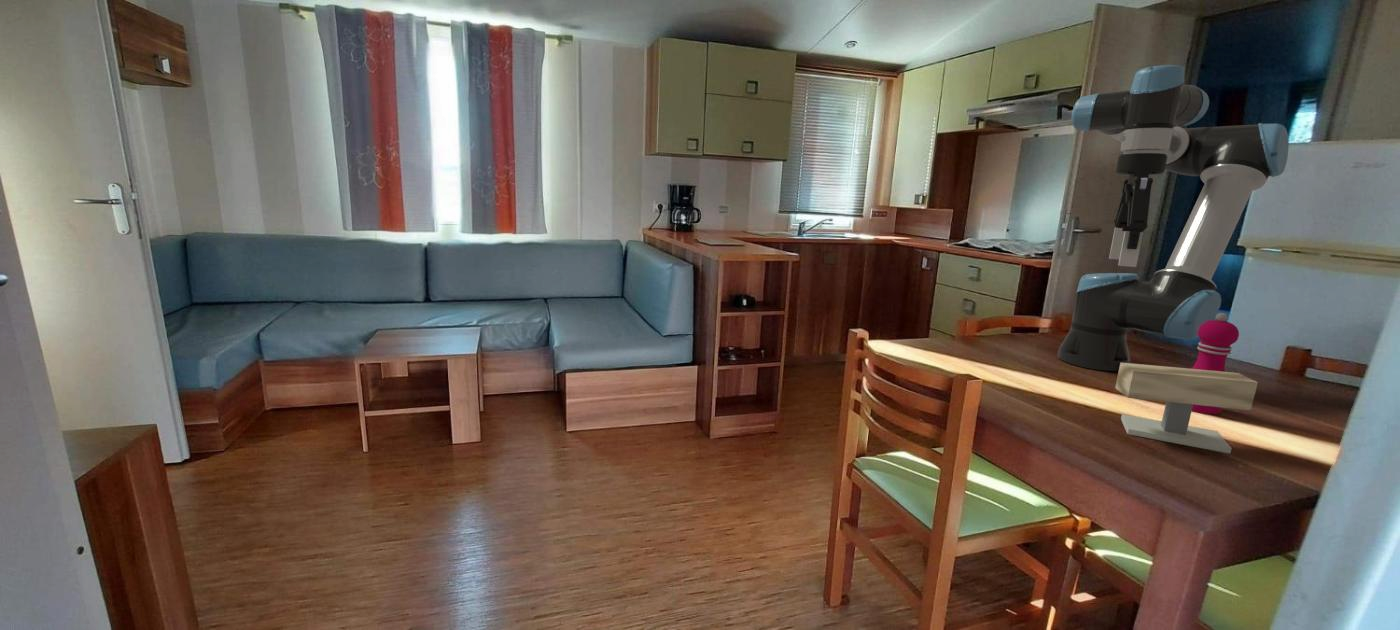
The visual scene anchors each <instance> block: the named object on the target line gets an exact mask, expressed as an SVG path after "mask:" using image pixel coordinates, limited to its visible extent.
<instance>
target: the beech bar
mask: <svg viewBox="0 0 1400 630" xmlns="http://www.w3.org/2000/svg"><path fill="white" fill-rule="evenodd" d="M1117 372H1118V373H1117V378H1116V382H1115V389H1116V390H1117V391H1118V392H1120V393H1121V394H1123V395H1124V396H1125V397H1127V398H1128V399H1138V400H1147V401H1148V400H1149V401H1155V402H1156V401H1157V402H1165V403H1166V402H1175V403H1185V404H1194V405H1204V406H1214V407H1222V408H1223V409H1224V408H1225V409H1234V410H1243V411H1244V410H1245V411H1251V410H1252V407H1253V402H1254V399H1255V395H1256V391H1257V387H1258V384H1259V382H1258V381H1256V380H1254V379H1251V378H1250V377H1247V376H1245V375H1243V374H1241V373H1240V372H1232V371H1231V372H1230V371H1225V372H1221V371H1210V370H1199V369H1192V368H1187V367H1175V366H1166V365H1165V366H1163V365H1153V364H1143V363H1141V364H1139V363H1131V362H1130V363H1120V367H1119V371H1117Z"/></svg>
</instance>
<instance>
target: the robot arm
mask: <svg viewBox="0 0 1400 630" xmlns="http://www.w3.org/2000/svg"><path fill="white" fill-rule="evenodd" d="M1185 70H1186V69H1185V67H1184V66H1182V65H1177V64H1162V65H1161V64H1160V65H1155V66H1154V65H1153V66H1148V67H1144V68H1142V69H1139V70H1137V71H1136V73H1135V74H1134V76H1133V81H1132V83H1131V88H1130V90H1122V91H1111V92H1103V93H1099V92H1098V93H1093V94H1090V95H1084V96H1081V97H1080V98H1078V99H1077V101H1076V102H1075V104H1074V105H1073V107H1072V108H1073V109H1072V111H1071V124H1072V126H1073V128H1074V129H1075V130H1077V131H1079V132H1080V131H1084V132H1091V131H1099V132H1101V133H1103V134H1104V135H1106V136H1108V137H1111V138H1112V139H1114V140H1116V141H1117V142H1120V143H1121V145H1120V150H1119V151H1120V152H1123V153H1122V154H1120V155H1119V156H1118V159H1117V164H1116V168H1115V169H1116V170H1115V172H1116V173H1117V174H1119V175H1129V177H1128V179H1125V180H1124V181H1123V185H1122V187H1121V190H1122V193H1121V196H1120V200H1119V204H1118V208H1117V211H1116V214H1115V215H1116V216H1115V219H1114V220H1113V222H1114V223H1113V224H1114V231H1113V236H1112V241H1111V246H1110V251H1109V257H1108V259H1109V260H1118V266H1120V267H1131V268H1137V265H1138V260H1139V255H1140V251H1141V245H1142V240H1143V236H1144V231H1145V230H1146V229H1147V228H1148V217H1149V210H1150V202H1151V201H1150V199H1151V192H1152V191H1151V190H1152V185H1153V182H1154V180H1153V177H1149V175H1162V174H1164V172H1165V171H1167V172H1170V173H1174V174H1177V175H1181V176H1182V175H1183V176H1190V177H1199V178H1200V180H1201V181H1202V183H1203V184H1204V185H1203V187H1202V189H1201V191H1200V193H1199V195H1198V198H1197V199H1196V202H1195V204H1194V205H1193V208H1192V210H1191V212H1190V214H1189V217H1188V218H1187V221H1186V223H1185V225H1184V227H1183V230H1182V232H1181V233H1180V236H1179V238H1178V240H1177V242H1176V244H1175V246H1174V249H1173V251H1172V253H1171V254H1170V258H1169V259H1168V261H1167V264H1166V266H1165V268H1163V269H1159V270H1156V271H1155V272H1154V273H1153V275H1152V277H1151V279H1150V281H1144V280H1143V281H1141V280H1140V277H1139V275H1138V274H1137V273H1128V272H1125V273H1124V272H1115V273H1114V272H1106V273H1105V272H1101V273H1087V274H1084V275H1083V276H1081V278H1080V280H1079V282H1078V286H1077V289H1076V292H1075V293H1076V295H1075V301H1074V307H1073V313H1072V319H1071V326H1070V329H1069V331H1068V333H1067V335H1066V336H1065V338H1064V339H1063V341H1062V342H1061V344H1060V346H1059V348H1058V351H1057V358H1058V359H1059V360H1061V361H1062V362H1065V363H1067V364H1070V365H1074V366H1077V367H1082V368H1084V369H1091V370H1097V371H1108V372H1119V367H1120V363H1131V358H1130V357H1131V356H1130V352H1129V347H1128V343H1127V342H1128V341H1127V333H1128V329H1130V330H1135V331H1139V332H1145V333H1150V334H1154V335H1160V336H1164V337H1167V338H1170V339H1175V338H1176V339H1182V340H1194V339H1197V338H1199V337H1198V334H1197V333H1198V329H1199V327H1200V326H1201V325H1202V324H1203V323H1204V322H1207V321H1210V320H1216V315H1217V314H1219V309H1220V308H1221V304H1222V298H1221V297H1222V296H1221V294H1220V293H1219V292H1217V289H1218V288H1217V285H1216V284H1215V282H1214V280H1212V279H1213V276H1214V274H1215V272H1216V271H1217V268H1218V265H1219V264H1220V262H1221V259H1222V257H1223V255H1224V253H1225V250H1226V249H1227V246H1228V244H1229V241H1230V239H1231V238H1232V235H1233V233H1234V231H1235V229H1236V226H1237V225H1238V223H1239V221H1240V218H1241V216H1242V213H1243V212H1244V210H1245V208H1246V205H1247V203H1248V201H1249V199H1250V196H1251V194H1252V192H1254V191H1257V190H1259V189H1261V188H1262V187H1264V186H1265V184H1266V182H1267V180H1268V178H1269V177H1272V178H1275V177H1278V176H1280V175H1282V174H1283V173H1284V171H1285V168H1286V165H1287V163H1288V162H1287V161H1288V155H1289V134H1288V131H1287V128H1286V127H1285V126H1284V125H1283V124H1280V123H1263V122H1260V123H1259V122H1258V124H1245V125H1244V124H1242V125H1241V124H1240V125H1225V126H1224V125H1223V126H1202V127H1189V128H1188V127H1186V126H1190V125H1192V124H1194V123H1196V122H1198V121H1200V120H1201V119H1202V118H1203V117H1204V116H1205V114H1206V113H1207V111H1208V109H1209V107H1210V106H1209V105H1210V97H1209V95H1208V93H1207V92H1205V91H1204V90H1203V89H1201V88H1200V87H1198V86H1196V85H1193V84H1185V72H1186V71H1185ZM1184 127H1185V128H1184Z"/></svg>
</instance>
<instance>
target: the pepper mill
mask: <svg viewBox="0 0 1400 630" xmlns="http://www.w3.org/2000/svg"><path fill="white" fill-rule="evenodd" d="M1228 319H1229V316H1228V314H1227V313H1224V312H1218V314H1217V315H1216V319H1215V320H1210V321H1207V322H1204V323H1203V324H1202V325H1201V326H1200V327H1199V329H1198V333H1197V334H1198V337H1197V338H1199V340H1200V341H1199V342H1198V346H1197V347H1196V349H1197V350H1198V357H1197V359H1196V362H1195V363H1194V365H1193V366H1192V367H1191V369H1199V370H1210V371H1221V372H1226V361H1227V357H1228V355H1229V356H1230V355H1231V351H1232V350H1233V347H1232V346H1231V345H1232V344H1235V343H1236V342H1237V341H1238V339H1239V337H1240V333H1239V329H1238V327H1237V326H1236V325H1234V324H1233V323H1231V322H1229V321H1227V320H1228ZM1222 408H1223V407H1214V406H1204V405H1194V404H1193V408H1192V412H1196V413H1201V414H1207V415H1218V414H1221V411H1222Z"/></svg>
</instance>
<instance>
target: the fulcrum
mask: <svg viewBox="0 0 1400 630" xmlns="http://www.w3.org/2000/svg"><path fill="white" fill-rule="evenodd" d="M1192 408H1193V404H1185V403H1175V402H1165V405H1164V410H1163V414H1162V419H1161V420H1158V419H1152V418H1146V417H1141V416H1135V415H1129V414H1124V413H1123V414H1121V417H1120V420H1121V422H1122V425H1123V427H1124V429H1125V431H1126V434H1127V435H1131V436H1137V437H1142V438H1147V439H1152V440H1157V441H1162V442H1167V443H1172V444H1178V445H1184V446H1188V447H1192V448H1198V449H1199V448H1200V449H1203V450H1208V451H1215V452H1219V453H1220V452H1221V453H1225V454H1231V452H1232V449H1233V448H1232V447H1231V446H1230V444H1229V443H1228V442H1227V440H1226V439H1225V438H1224V437H1223V436H1222V434H1221V433H1220V432H1219V431H1218V430H1214V429H1209V428H1203V427H1197V426H1190V425H1189V423H1190V419H1191V415H1192V412H1193V411H1192Z"/></svg>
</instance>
